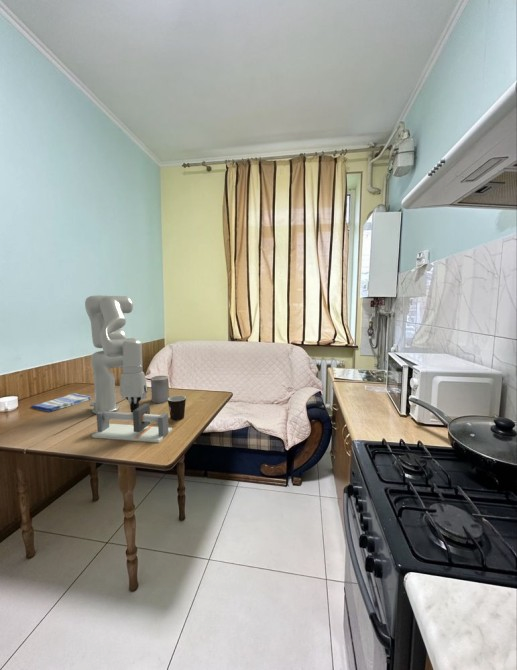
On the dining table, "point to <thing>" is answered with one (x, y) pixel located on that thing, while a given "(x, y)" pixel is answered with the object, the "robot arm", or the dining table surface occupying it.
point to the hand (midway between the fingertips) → (134, 411)
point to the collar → (140, 417)
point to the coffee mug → (177, 407)
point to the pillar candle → (160, 389)
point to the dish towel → (61, 402)
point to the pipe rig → (131, 427)
